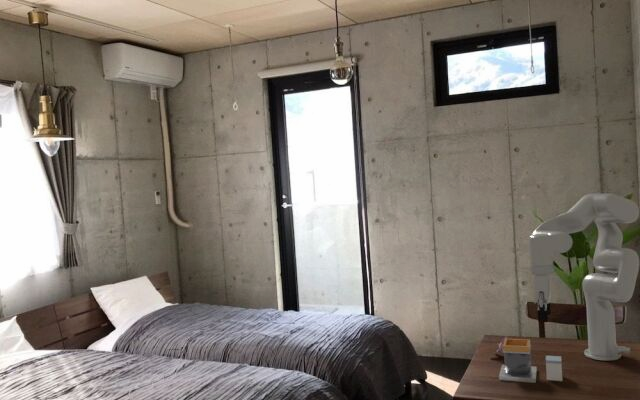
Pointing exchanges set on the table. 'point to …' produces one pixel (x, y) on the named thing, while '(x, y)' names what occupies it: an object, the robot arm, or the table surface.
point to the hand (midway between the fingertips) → (544, 318)
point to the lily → (500, 345)
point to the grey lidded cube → (554, 368)
